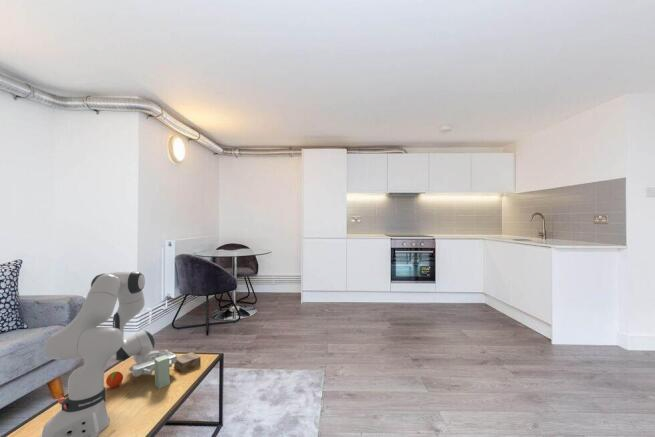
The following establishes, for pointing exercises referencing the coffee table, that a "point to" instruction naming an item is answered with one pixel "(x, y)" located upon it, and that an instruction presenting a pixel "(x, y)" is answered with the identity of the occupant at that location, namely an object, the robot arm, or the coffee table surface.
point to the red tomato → (114, 379)
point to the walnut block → (187, 361)
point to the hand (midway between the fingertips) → (160, 368)
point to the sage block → (162, 371)
